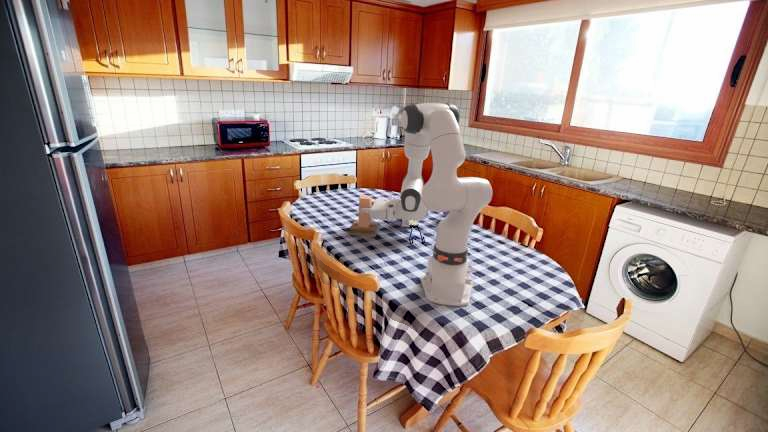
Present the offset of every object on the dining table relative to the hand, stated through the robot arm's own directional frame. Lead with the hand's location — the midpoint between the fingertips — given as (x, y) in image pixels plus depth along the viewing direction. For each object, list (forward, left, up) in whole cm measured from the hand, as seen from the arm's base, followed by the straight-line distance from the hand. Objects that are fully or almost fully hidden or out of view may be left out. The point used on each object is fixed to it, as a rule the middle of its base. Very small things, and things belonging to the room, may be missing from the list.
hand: (363, 206), depth 176 cm
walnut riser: (0, -1, -12) cm, 13 cm away
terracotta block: (0, -1, -9) cm, 10 cm away
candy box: (+17, -21, -13) cm, 30 cm away
